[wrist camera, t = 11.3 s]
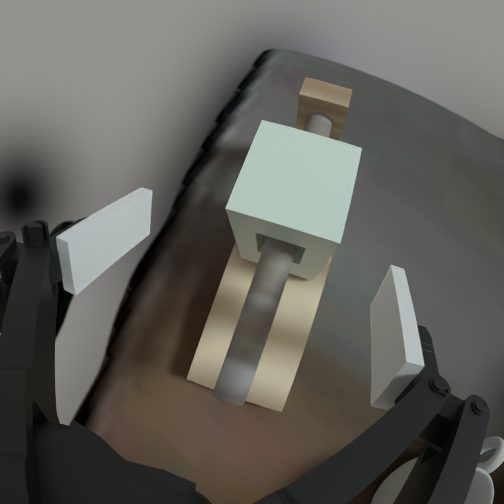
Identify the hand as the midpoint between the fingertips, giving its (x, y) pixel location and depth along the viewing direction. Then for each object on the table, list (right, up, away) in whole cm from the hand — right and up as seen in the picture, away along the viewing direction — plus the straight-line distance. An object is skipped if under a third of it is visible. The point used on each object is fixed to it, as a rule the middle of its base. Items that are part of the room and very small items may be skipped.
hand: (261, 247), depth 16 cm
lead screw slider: (+2, -1, +12) cm, 12 cm away
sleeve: (+3, +1, +10) cm, 10 cm away
